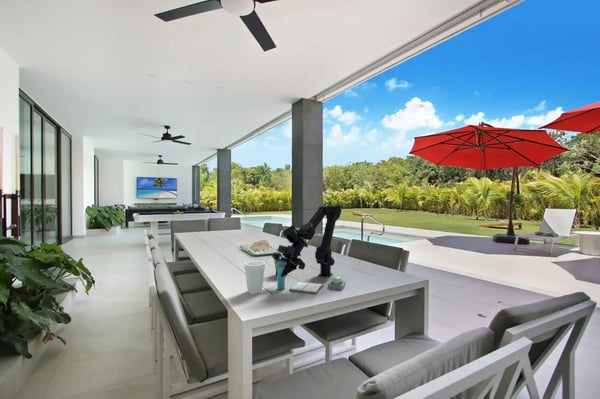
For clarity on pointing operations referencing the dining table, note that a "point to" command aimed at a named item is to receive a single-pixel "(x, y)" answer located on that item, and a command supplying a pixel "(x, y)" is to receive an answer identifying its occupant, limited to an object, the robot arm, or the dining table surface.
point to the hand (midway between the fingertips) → (278, 275)
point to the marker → (280, 279)
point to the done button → (336, 280)
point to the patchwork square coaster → (306, 287)
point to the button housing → (336, 285)
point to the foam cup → (254, 276)
